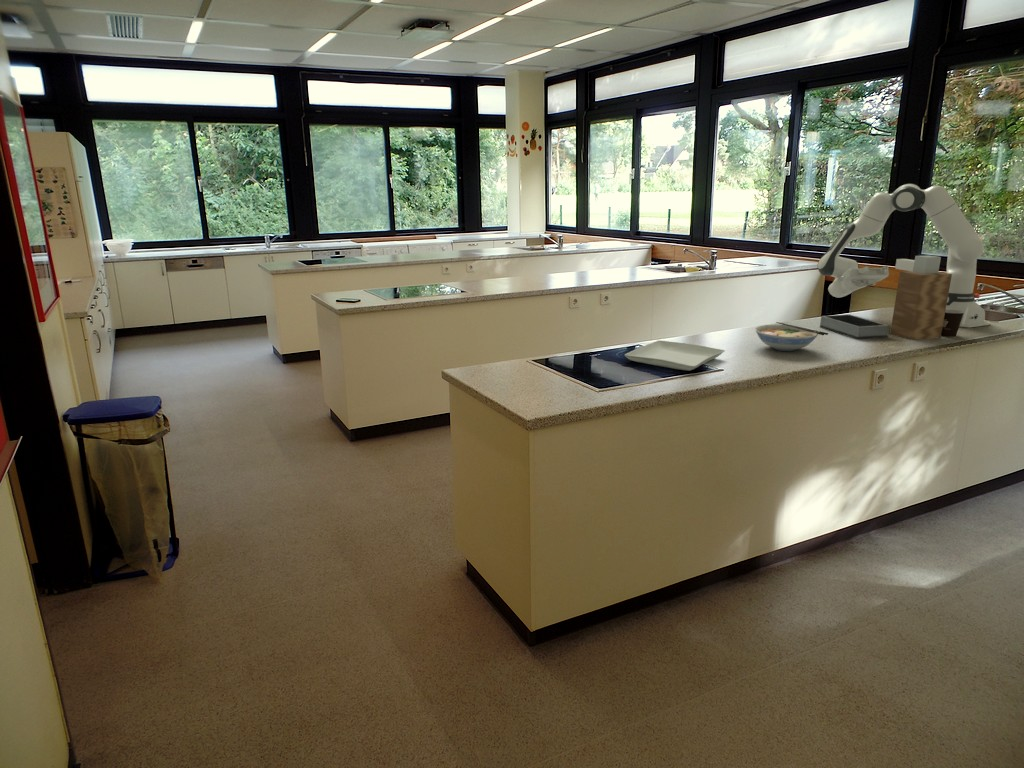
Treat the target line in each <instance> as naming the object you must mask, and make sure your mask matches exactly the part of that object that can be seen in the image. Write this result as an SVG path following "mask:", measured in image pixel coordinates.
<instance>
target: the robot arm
mask: <svg viewBox="0 0 1024 768" xmlns="http://www.w3.org/2000/svg"><path fill="white" fill-rule="evenodd" d="M917 209H922V210H923V211H924V212H925V214H926V215H927V217H928V218H929V220H930V223H932V225H933V226H934V228H935V229H936V231H937V233H938V234H939V235H940V237H941V238H942V240H943V242H944V243H945V244H946V245H947V247H948V249H947V250H948V251H947V259H946V260H947V261H946V272H945V273H949V274H952V277H951V282H950V288H949V293H948V299H947V304H946V309H950V310H959V311H963V312H964V314H963V317H962V320H961V323H960V326H959V328H960V327H961V328H974V327H975V328H976V327H983V326H990V325H991V321H988V320H986V311H985V310H984V308H983V307H981V306H980V305H979V304H978V303H977V302H976V299H980V297H981V294H980V293H974V288H975V282H976V276H977V262H978V259H979V258H980V257H981V256H982V254H983V253H984V250H985V245H984V242H983V240H982V239H981V238H980V236H979V234H978V233H977V232H976V231H975V229H974V227H973V226H972V225H971V223H970V222H969V220H967V218H966V216H965V215H964V213H963V211H962V210H961V209H960V207H959V205H958V204H957V202H956V201H955V200H954V198H953V197H952V195H951V194H950V193H949V192H948V191H947V190H946V189H945V187H943V186H941V185H933V186H930V187H927V188H926V189H922V188H921V187H920V186H919V185H918V184H916V183H912V182H911V183H910V182H909V183H904V184H903V185H900V186H899V187H898V188H896V189H894V190H893V191H892V192H890V193H887V192H883V191H880V192H876V193H874V194H873V195H872V196H871V198H870V199H869V200H868V202H867V203H866V205H865V206H864V208H863V209H862V211H861V213H860V215H859V216H858V217H857V218H856V219H855V220H854V221H852V222H851V223H848V224H847V225H846V226H845V227H844V228H843V230H842V231H841V232H840V233H839V235H838V236H837V237H836V239H835V240H834V241H833V243H832V244H831V246H830V247H829V248H828V250H827V251H826V252H825V253H824V254H823V255H822V256H821V257H820V258H819V260H818V261H817V265H816V266H817V270H818V272H819V274H820V275H821V276H826V277H833V278H834V280H833V281H832V283H830V284H829V286H828V288H827V290H828V292H829V294H830V295H831V296H832V297H835V298H843V297H847V296H848V295H850V294H852V293H854V292H855V291H858V290H859V289H863V288H867V287H872V286H875V285H877V283H878V282H881V281H883V280H885V279H886V278H888V277H889V275H890V272H889V269H890V268H889V266H888V265H883V266H882V267H874V268H873V267H870V266H868V265H867V266H864V267H860V266H859V263H858V261H857V260H854V259H851V258H847V257H842V256H840V255H841V253H842V252H843V251H844V249H845V248H846V247H847V245H848V244H849V243H850V242H852V241H853V240H857V239H860V238H869V237H872V236H875V235H877V234H878V233H879V232H881V231H882V229H883V228H884V227H885V225H886V223H887V220H888V219H889V217H890V216H891V214H892V213H893V212H894V211H896V210H897V211H900V212H909V211H914V210H917Z"/></svg>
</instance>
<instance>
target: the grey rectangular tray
mask: <svg viewBox="0 0 1024 768" xmlns="http://www.w3.org/2000/svg"><path fill="white" fill-rule="evenodd" d="M819 328H821V329H825V330H827V331H831V332H834V333H837V334H839V335H843V336H846V337H849V338H852V339H856V340H867V339H868V340H869V339H883V338H888V336H889V329H890V325H889V324H885V323H882V322H880V321H879V322H878V321H874V320H871V319H867V318H864V317H859V316H856V315H852V314H833V315H831V314H830V315H821V316H820V324H819Z"/></svg>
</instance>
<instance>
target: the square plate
mask: <svg viewBox="0 0 1024 768" xmlns="http://www.w3.org/2000/svg"><path fill="white" fill-rule="evenodd" d="M724 352H726V350H724V349H720V348H715V347H708V346H703V345H698V344H692V343H686V342H685V343H684V342H679V341H678V342H676V341H669V340H668V341H667V340H661V339H660V340H659V339H658V340H656V341H653V342H651V343H648V344H646V345H642V346H640V347H637V348H635V349H634V350H630V351H628V352H627V353H624V357H626V358H627V359H628V360H629V361H633V362H636V363H641V364H645V365H646V364H647V365H651V366H657V367H662V368H663V367H664V368H669V369H674V370H681V371H689V372H690V371H692V370H695V369H697V368H699V367H700V366H702V365H703V364H705V363H706V364H707V363H709V362H710V361H712V360H714V359H716V358H718V357H719V356H721V355H722V354H723V353H724Z"/></svg>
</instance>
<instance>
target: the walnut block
mask: <svg viewBox="0 0 1024 768" xmlns="http://www.w3.org/2000/svg"><path fill="white" fill-rule="evenodd" d="M898 275H899V276H898V282H897V289H896V295H895V299H894V300H895V301H894V308H893V313H892V320H891V324H890V325H891V326H890V331H889V333H890V335H894V336H897V337H901V338H905V339H907V340H912V341H913V340H914V341H915V340H927V339H940V338H941V337H942V336H941V332H942V326H943V321H944V315H945V310H946V304H947V299H948V293H949V288H950V282H951V277H952V274H949V273H946V272H940V271H938V273H936V274H921V273H915V272H912V271H906V270H902V271H899V274H898Z"/></svg>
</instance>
